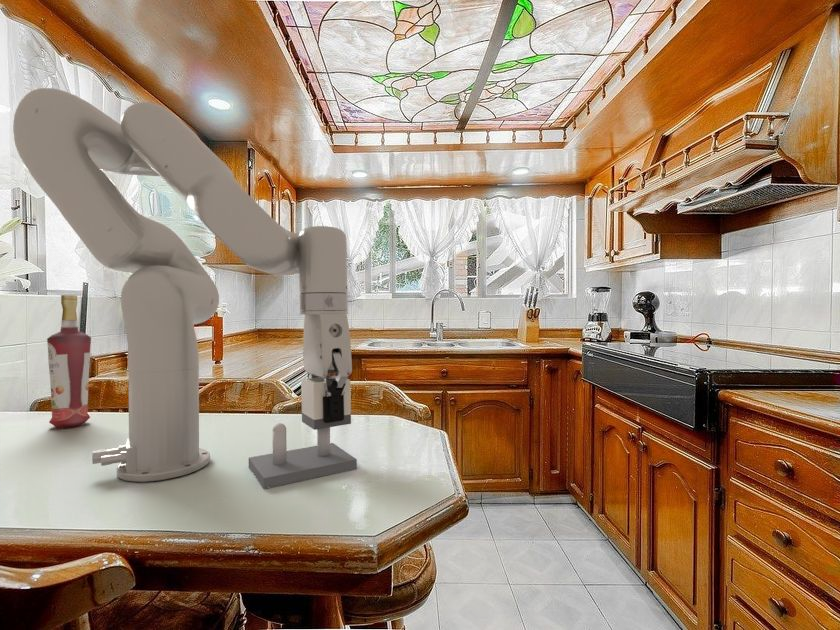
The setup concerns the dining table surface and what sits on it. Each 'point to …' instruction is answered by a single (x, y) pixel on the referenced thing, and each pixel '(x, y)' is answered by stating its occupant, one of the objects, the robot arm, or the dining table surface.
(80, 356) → the liquor
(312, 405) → the sleeve
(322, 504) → the dining table surface
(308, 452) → the pin board
